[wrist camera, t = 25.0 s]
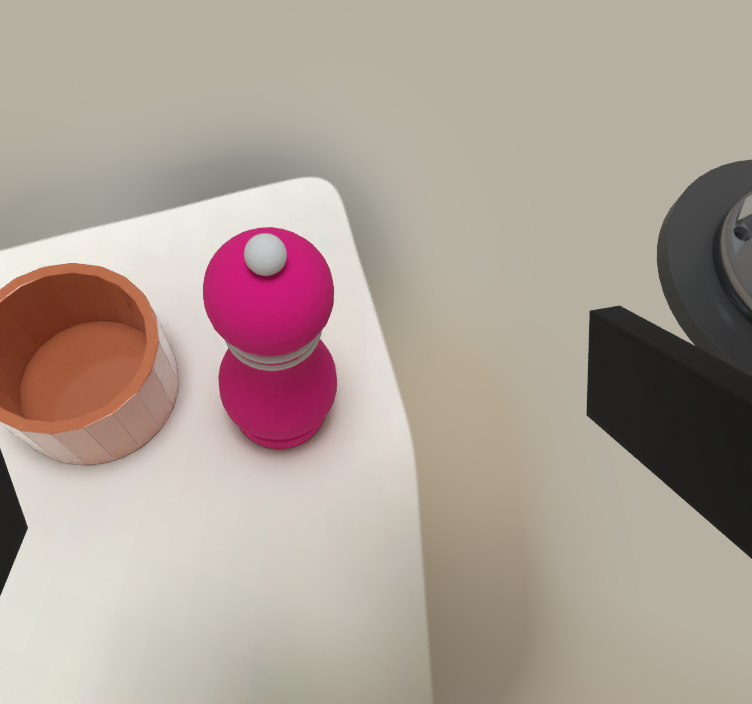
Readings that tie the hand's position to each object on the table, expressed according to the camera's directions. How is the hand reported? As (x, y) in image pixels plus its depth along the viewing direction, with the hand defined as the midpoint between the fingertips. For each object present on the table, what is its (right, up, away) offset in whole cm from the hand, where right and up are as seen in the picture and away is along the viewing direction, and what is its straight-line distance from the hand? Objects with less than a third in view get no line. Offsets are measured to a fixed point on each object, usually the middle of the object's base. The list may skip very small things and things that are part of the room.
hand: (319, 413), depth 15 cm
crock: (-17, -1, +30) cm, 35 cm away
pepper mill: (-5, -2, +31) cm, 32 cm away
